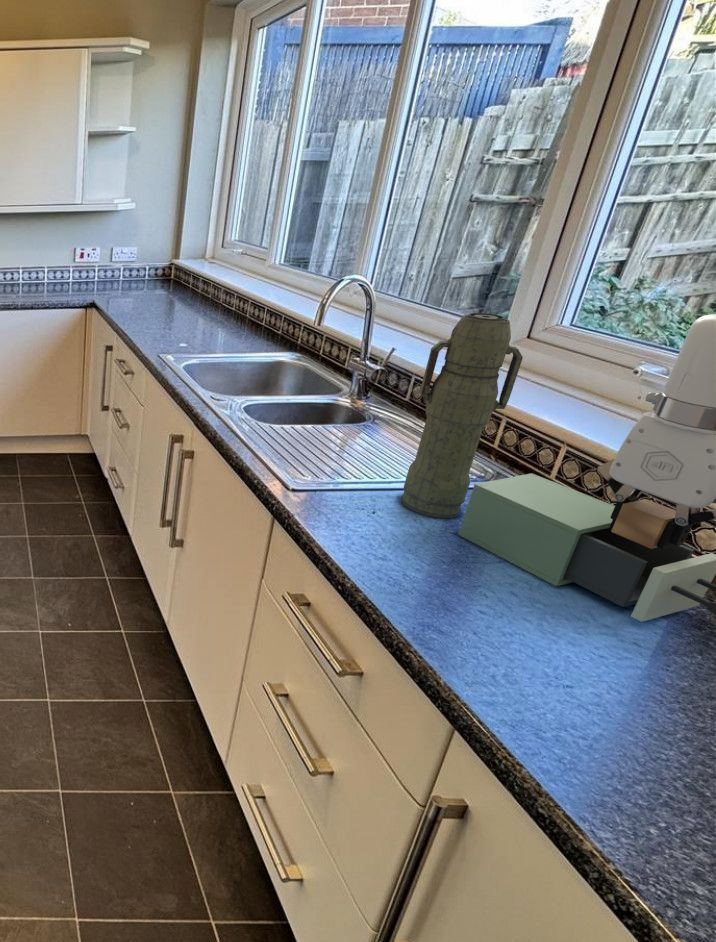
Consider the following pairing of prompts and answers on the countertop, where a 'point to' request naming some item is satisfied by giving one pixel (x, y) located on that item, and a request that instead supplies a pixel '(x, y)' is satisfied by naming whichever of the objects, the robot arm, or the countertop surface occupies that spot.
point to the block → (643, 522)
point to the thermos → (459, 411)
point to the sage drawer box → (532, 522)
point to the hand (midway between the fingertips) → (643, 535)
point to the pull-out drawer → (642, 574)
